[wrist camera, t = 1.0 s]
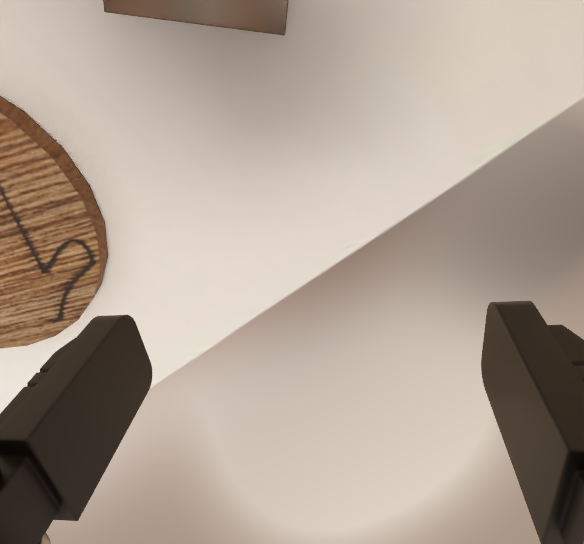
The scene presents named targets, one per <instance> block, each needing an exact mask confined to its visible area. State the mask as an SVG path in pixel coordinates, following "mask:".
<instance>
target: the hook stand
mask: <svg viewBox="0 0 584 544" xmlns="http://www.w3.org/2000/svg"><path fill="white" fill-rule="evenodd" d="M103 2H104V11H105V12H108V13H116V14H124V15H132V16H139V17H147V18H155V19H163V20H170V21H178V22H186V23H194V24H201V25H209V26H217V27H225V28H232V29H240V30H248V31H256V32H264V33H271V34H279V35H285V29H286V18H287V8H288V0H103Z"/></svg>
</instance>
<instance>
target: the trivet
mask: <svg viewBox="0 0 584 544" xmlns="http://www.w3.org/2000/svg"><path fill="white" fill-rule="evenodd" d="M107 258H108V252H107V242H106V232H105V223H104V220H103V218H102V215H101V213H100V210H99V208H98V205H97V203H96V201H95V198H94V196H93V193H92V191H91V188H90V186H89V185H88V183H87V182H86V180H85V179H84V177H83V176H82V175H81V173H80V172H79V170H78V169H77V168H76V166H75V165H74V163H73V162H72V161H71V159H70V158H69V156H68V155H67V153H66V152H65V151H64V149H63V148H62V147H61V146H60V145H59V144H58V143H57V142H56V141H55V140H54V139H52V138H51V137H50V136H49V135H48V134H47V133H46V132H45V131H44V130H43V129H42V128H41V127H40V126H39V125H38V124H36V123H35V122H34V121H33V120H32V119H31V118H30V117H29V116H28V115H27V114H26V113H25V112H24V111H22V110H21V109H19V108H17V107H16V106H14V105H13V104H11V103H9V102H8V101H6V100H5V99H3V98H2V97H0V348H8V347H18V346H27V345H30V344H33V343H36V342H39V341H42V340H44V339H47V338H50V337H53V336H56V335H57V334H59V333H60V332H61V331H63V330H64V329H66V328H67V327H69V326H70V325H71V324H73V323H74V322H76V321H77V320H78V319H79V318H80V316H81V315H82V314H83V312H84V311H85V309H86V308H87V306H88V305H89V303H90V302H91V300H92V299H93V298H94V296H95V294H96V292H97V291H98V289H99V287H100V285H101V283H102V279H103V274H104V270H105V266H106V262H107Z"/></svg>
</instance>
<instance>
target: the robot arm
mask: <svg viewBox="0 0 584 544" xmlns="http://www.w3.org/2000/svg"><path fill="white" fill-rule="evenodd" d="M481 368H482V378H483V383H484V387H485V390H486V393H487V396H488V398H489V401H490V404H491V407H492V409H493V412H494V415H495V418H496V421H497V423H498V426H499V429H500V432H501V434H502V437H503V440H504V443H505V446H506V448H507V451H508V454H509V457H510V459H511V462H512V465H513V468H514V470H515V473H516V476H517V479H518V481H519V484H520V487H521V490H522V492H523V495H524V498H525V501H526V504H527V506H528V509H529V512H530V514H531V517H532V520H533V523H534V526H535V528H536V531H537V534H538V537H539V539H540V542H541V544H584V340H583V339H581V338H580V337H579V336H577V335H576V334H574V333H573V332H572V331H570V330H569V329H567V328H566V327H564V326H563V325H547V324H546V322H545V321H544V319H543V318H542V316H541V315H540V313H539V312H538V310H537V308H536V307H535V305H534V304H533V303H532V302H531V301H515V302H514V301H513V302H491V303H490V304H489V306H488V309H487V316H486V324H485V333H484V342H483V350H482V360H481ZM151 381H152V366H151V363H150V360H149V357H148V355H147V352H146V349H145V347H144V344H143V341H142V339H141V336H140V333H139V331H138V328H137V326H136V323H135V321H134V319H133V318H132V317H131V316H129V315H116V316H97V317H95V318H93V319H92V320H91V321H90V323H89V324H88V325H87V326H86V327H85V328H84V330H83V331H82V332H81V333H80V334H79V335H78V337H77V338H75V339H73V340H72V341H70V342H69V343H68V344H66V345H65V346H63V347H62V348H60V349H59V350H58V351H56V352H55V353H54V354H53V355H52V356H51V357H50V359H49V360H48V361H47V362H46V363H45V364H44V365H43V366H42V368H41V369H40V373H36V374H35V375H34V377H33V378H32V379H31V380H30V381H29V382H28V383H27V384H28V386H27V387H24V388H23V389H22V390H21V391H20V392H19V393H18V395H17V396H16V397H15V398H14V399H13V400H12V401H11V402H10V404H9V405H8V406H7V407H6V408H5V409H4V410H3V412H2V413H1V414H0V544H51V543H50V539H49V537H48V535H47V534H46V531H47V529H48V528H49V526H50V524H51V522H52V521H53V520H70V521H78V520H79V518H80V516H81V514H82V512H83V510H84V508H85V507H86V505H87V503H88V501H89V499H90V497H91V496H92V494H93V492H94V490H95V488H96V486H97V485H98V483H99V481H100V479H101V477H102V475H103V474H104V472H105V470H106V468H107V466H108V464H109V463H110V461H111V459H112V457H113V455H114V453H115V451H116V450H117V448H118V446H119V444H120V442H121V440H122V438H123V437H124V435H125V433H126V431H127V429H128V428H129V426H130V424H131V422H132V420H133V418H134V417H135V415H136V413H137V411H138V409H139V407H140V406H141V404H142V402H143V400H144V398H145V396H146V395H147V393H148V391H149V389H150V386H151Z"/></svg>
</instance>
